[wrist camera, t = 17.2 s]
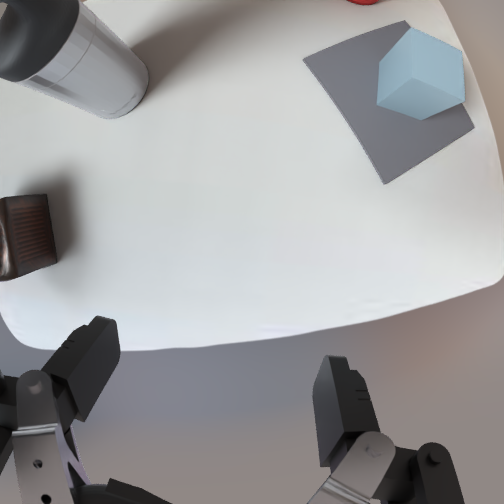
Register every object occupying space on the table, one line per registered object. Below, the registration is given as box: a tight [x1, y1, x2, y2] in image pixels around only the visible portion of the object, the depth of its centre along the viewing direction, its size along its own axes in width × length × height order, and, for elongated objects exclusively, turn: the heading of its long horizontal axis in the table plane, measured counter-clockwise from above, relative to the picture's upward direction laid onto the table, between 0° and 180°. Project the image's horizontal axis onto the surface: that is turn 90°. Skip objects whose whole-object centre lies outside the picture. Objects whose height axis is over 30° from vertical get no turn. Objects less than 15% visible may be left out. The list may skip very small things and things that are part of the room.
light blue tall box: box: [377, 27, 465, 120], centre depth 25 cm, size 6×6×10 cm
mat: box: [303, 20, 474, 184], centre depth 30 cm, size 18×18×1 cm
